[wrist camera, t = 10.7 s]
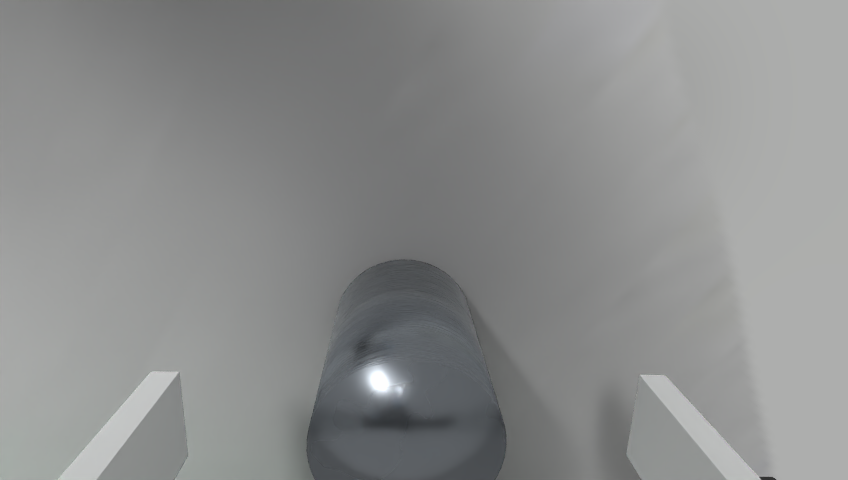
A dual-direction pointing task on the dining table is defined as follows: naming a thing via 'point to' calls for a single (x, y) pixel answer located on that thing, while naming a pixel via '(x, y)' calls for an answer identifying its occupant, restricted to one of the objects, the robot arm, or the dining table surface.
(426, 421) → the grey tin
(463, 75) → the dining table surface
